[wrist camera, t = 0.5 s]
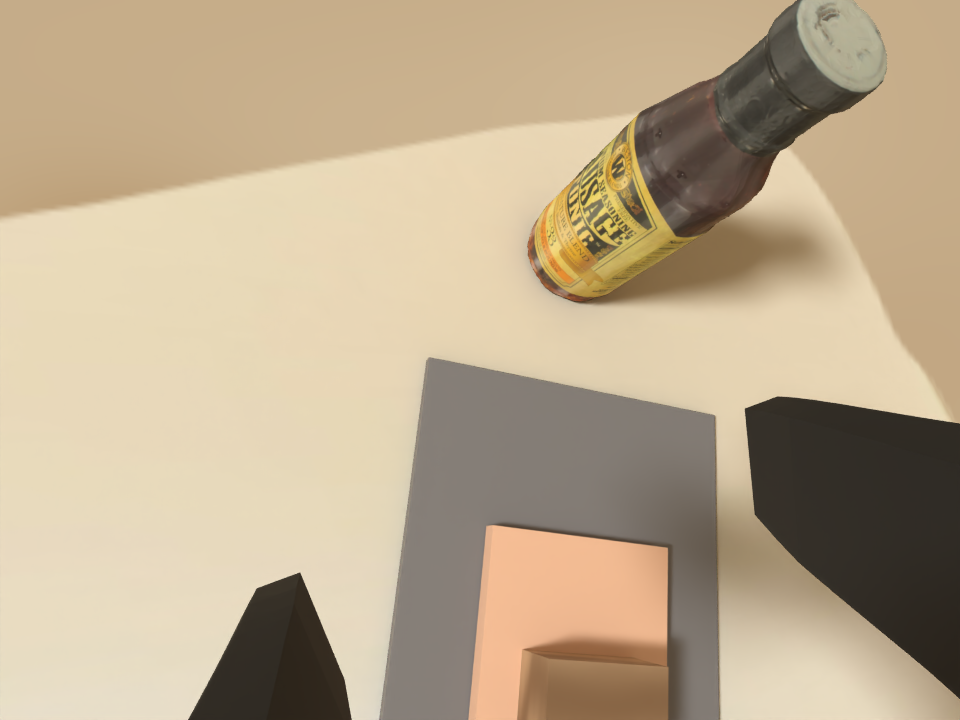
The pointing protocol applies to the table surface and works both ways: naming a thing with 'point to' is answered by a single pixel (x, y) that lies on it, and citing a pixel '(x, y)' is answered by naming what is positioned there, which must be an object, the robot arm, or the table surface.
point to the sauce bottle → (704, 150)
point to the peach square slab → (570, 629)
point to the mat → (547, 520)
